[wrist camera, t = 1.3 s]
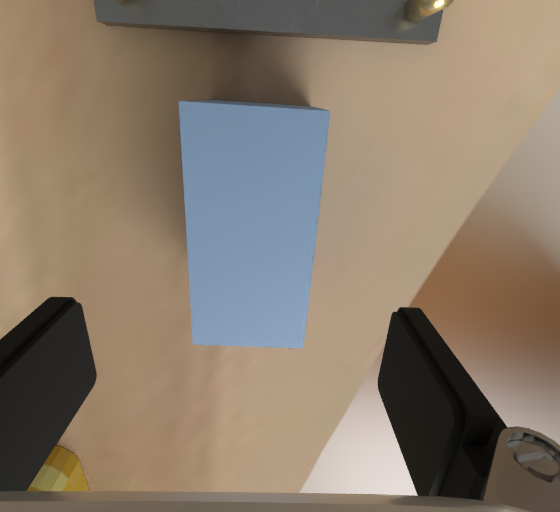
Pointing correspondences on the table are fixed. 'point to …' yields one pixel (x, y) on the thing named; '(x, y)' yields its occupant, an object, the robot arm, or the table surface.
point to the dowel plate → (285, 17)
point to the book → (60, 473)
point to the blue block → (251, 218)
